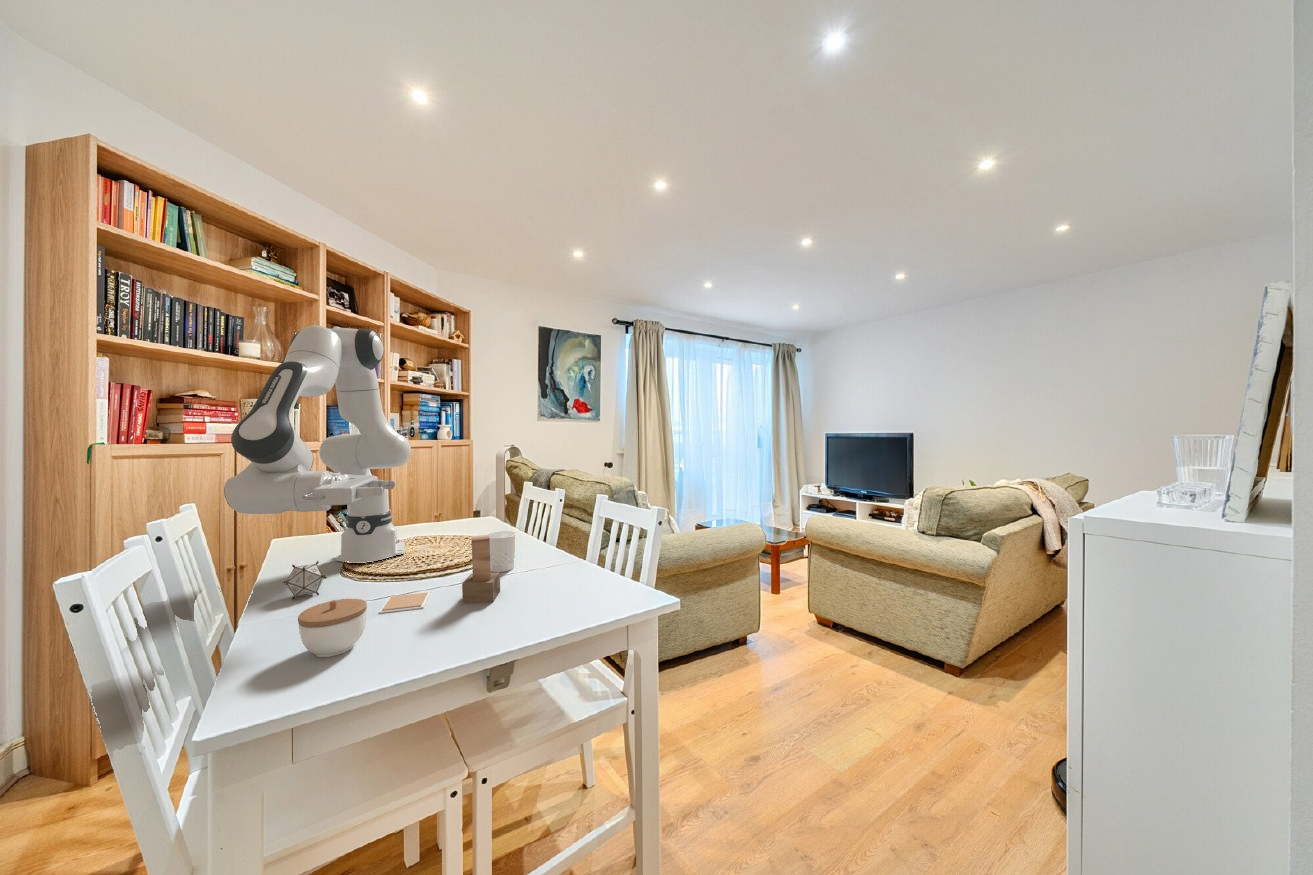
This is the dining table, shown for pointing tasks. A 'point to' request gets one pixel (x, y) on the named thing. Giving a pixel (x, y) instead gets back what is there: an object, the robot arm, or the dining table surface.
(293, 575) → the grey icosahedron model
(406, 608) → the swatch tile
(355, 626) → the lidded jar
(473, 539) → the cherry post
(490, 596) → the walnut block
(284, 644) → the dining table surface
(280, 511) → the robot arm
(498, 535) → the white cup
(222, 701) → the dining table surface
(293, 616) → the dining table surface
